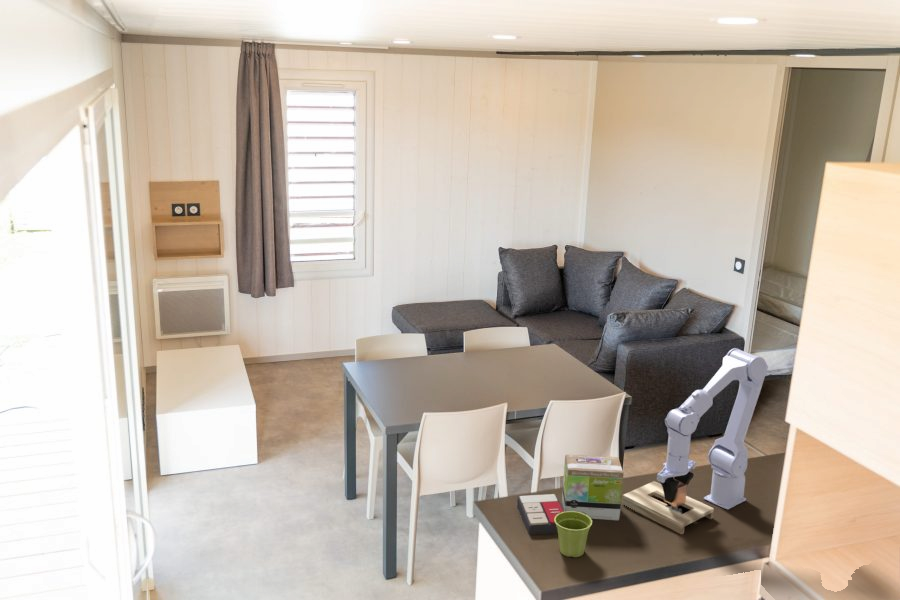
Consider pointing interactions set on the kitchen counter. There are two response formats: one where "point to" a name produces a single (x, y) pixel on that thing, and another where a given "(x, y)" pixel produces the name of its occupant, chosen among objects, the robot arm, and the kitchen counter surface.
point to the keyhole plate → (664, 507)
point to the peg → (678, 497)
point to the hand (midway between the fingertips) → (674, 498)
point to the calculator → (539, 513)
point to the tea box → (593, 486)
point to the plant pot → (572, 532)
